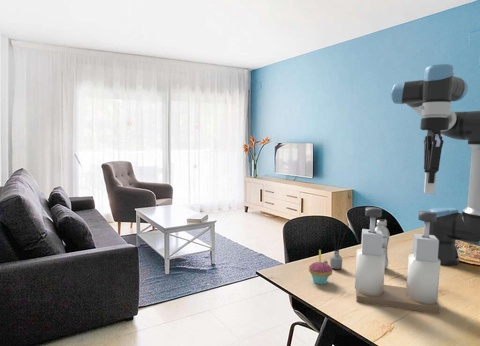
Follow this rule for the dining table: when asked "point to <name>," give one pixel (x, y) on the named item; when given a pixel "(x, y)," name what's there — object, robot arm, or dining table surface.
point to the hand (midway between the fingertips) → (429, 193)
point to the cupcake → (320, 271)
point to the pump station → (418, 276)
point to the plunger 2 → (427, 221)
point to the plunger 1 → (373, 216)
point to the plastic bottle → (384, 237)
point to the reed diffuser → (336, 253)
